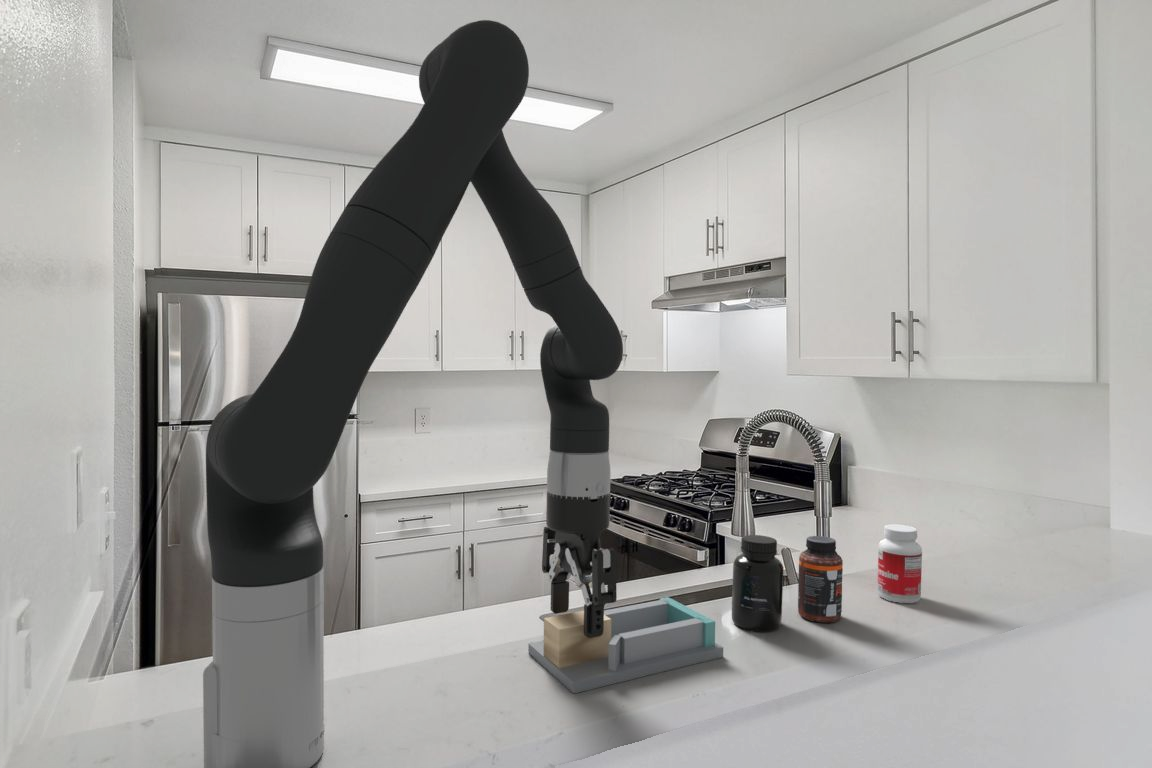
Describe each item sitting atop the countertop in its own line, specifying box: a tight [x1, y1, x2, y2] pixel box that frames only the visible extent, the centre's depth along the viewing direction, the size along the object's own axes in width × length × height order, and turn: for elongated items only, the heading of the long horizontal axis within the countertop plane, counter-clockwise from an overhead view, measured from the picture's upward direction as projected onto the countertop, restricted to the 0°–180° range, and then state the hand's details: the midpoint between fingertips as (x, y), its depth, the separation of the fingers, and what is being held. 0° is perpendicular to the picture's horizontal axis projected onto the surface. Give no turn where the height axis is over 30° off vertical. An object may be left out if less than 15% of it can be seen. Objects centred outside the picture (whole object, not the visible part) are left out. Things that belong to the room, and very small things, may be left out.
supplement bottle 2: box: [797, 535, 844, 624], centre depth 101 cm, size 6×6×11 cm
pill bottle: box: [876, 523, 923, 604], centre depth 109 cm, size 6×6×11 cm
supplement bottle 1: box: [731, 534, 784, 633], centre depth 98 cm, size 7×7×12 cm
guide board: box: [528, 596, 724, 694], centre depth 87 cm, size 21×12×4 cm, turn 118°
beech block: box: [543, 610, 611, 668], centre depth 84 cm, size 7×4×4 cm, turn 119°
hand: (575, 623), depth 83 cm, fingers open, 8 cm apart
